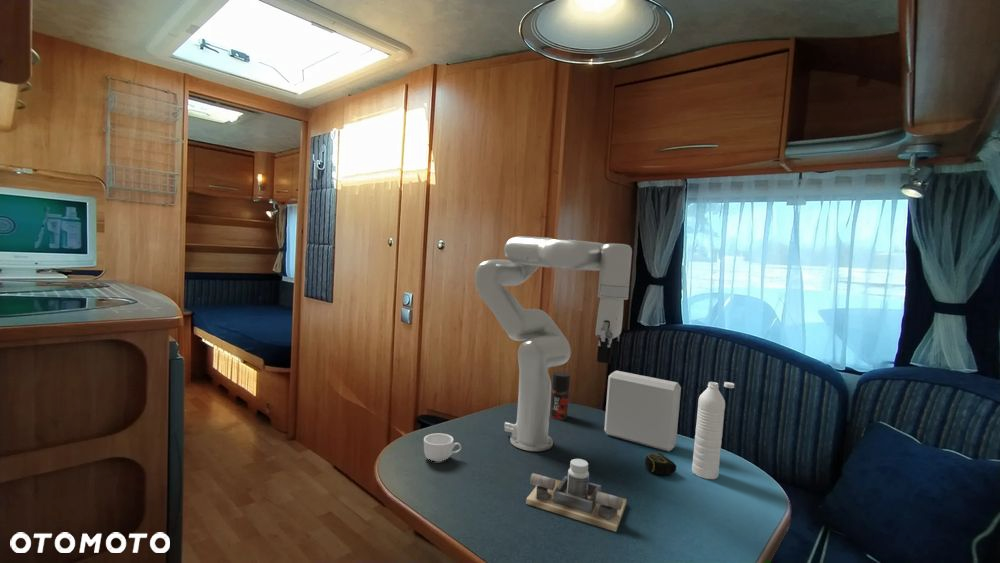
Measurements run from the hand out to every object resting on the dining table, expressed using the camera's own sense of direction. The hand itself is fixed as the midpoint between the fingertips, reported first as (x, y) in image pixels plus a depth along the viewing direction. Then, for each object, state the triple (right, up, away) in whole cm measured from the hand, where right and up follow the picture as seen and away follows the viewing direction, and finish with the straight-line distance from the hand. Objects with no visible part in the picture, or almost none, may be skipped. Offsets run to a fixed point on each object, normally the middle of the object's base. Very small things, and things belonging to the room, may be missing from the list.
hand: (607, 358), depth 117 cm
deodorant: (-7, -27, +42) cm, 51 cm away
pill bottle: (-10, -30, -13) cm, 34 cm away
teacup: (-43, -28, +5) cm, 51 cm away
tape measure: (+15, -31, +6) cm, 35 cm away
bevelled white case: (+16, -30, +26) cm, 43 cm away
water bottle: (+28, -32, +6) cm, 43 cm away
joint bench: (-10, -31, -13) cm, 35 cm away
